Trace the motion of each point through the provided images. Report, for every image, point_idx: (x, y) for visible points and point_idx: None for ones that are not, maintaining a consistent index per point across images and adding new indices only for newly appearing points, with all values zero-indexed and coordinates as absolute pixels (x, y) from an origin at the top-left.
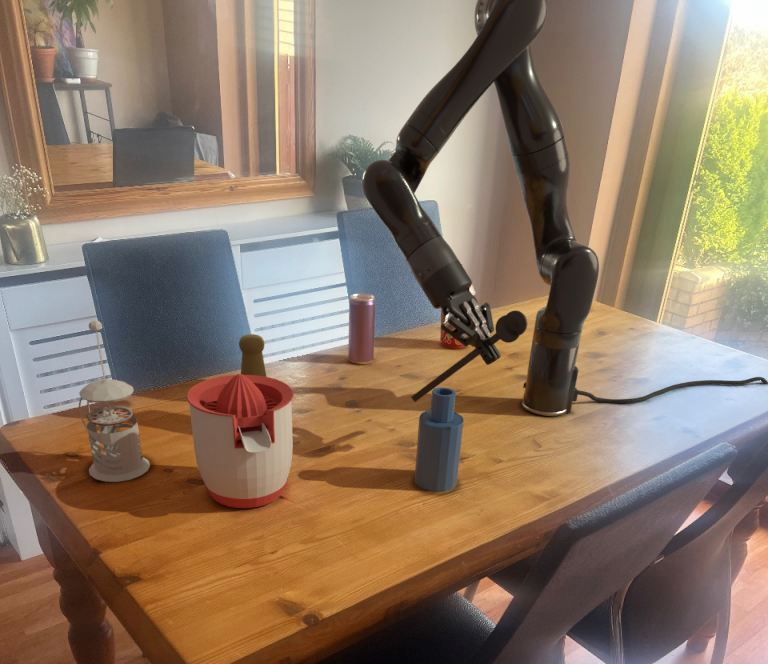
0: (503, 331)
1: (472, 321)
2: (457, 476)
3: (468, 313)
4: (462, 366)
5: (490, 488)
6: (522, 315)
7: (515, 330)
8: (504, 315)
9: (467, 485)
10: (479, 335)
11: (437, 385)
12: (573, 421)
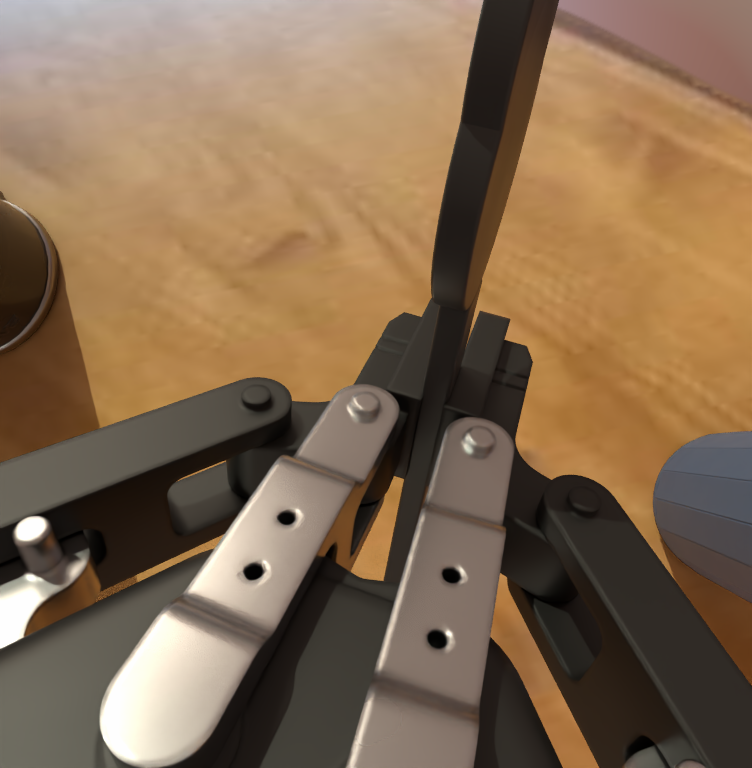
0: (495, 218)
1: (493, 588)
2: (722, 433)
3: (477, 687)
4: None
5: (673, 323)
6: None
7: (536, 68)
8: (485, 158)
9: (687, 399)
10: (509, 468)
11: None
12: (61, 170)
